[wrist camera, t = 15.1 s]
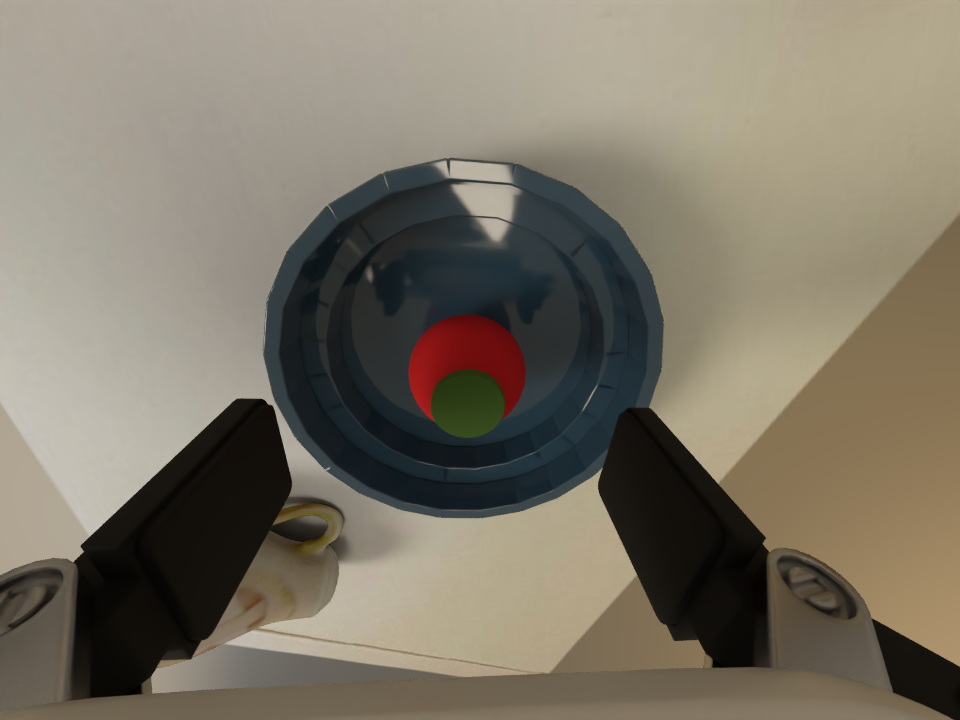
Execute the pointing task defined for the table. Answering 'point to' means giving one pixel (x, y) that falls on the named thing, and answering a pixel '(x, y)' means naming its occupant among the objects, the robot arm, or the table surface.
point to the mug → (281, 580)
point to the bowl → (449, 292)
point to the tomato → (467, 374)
